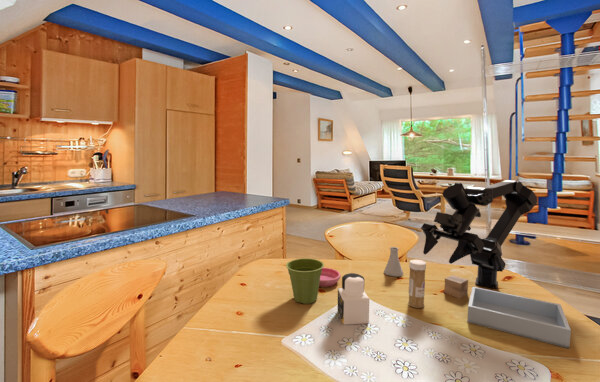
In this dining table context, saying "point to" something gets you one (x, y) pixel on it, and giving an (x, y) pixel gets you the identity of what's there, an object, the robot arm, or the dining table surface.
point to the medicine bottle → (353, 300)
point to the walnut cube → (456, 286)
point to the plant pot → (305, 278)
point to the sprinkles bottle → (417, 283)
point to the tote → (519, 316)
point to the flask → (393, 264)
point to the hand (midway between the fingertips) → (436, 258)
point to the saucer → (328, 277)
